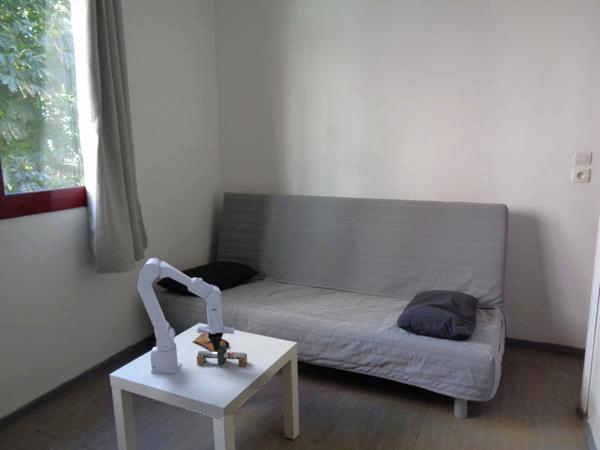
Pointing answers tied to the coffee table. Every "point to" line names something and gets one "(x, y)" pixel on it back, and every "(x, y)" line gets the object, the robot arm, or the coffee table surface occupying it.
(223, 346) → the ring
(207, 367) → the coffee table surface
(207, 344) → the sunglasses case
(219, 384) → the coffee table surface
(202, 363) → the pipe
